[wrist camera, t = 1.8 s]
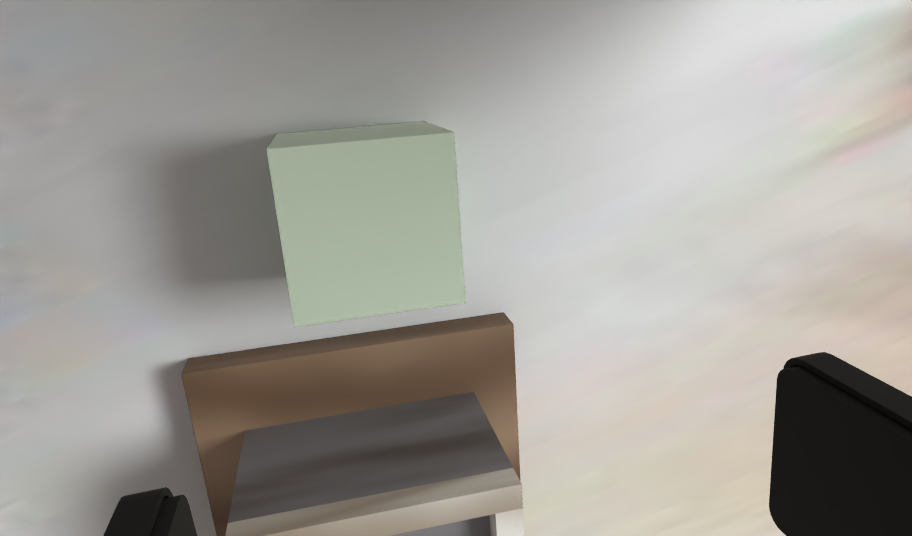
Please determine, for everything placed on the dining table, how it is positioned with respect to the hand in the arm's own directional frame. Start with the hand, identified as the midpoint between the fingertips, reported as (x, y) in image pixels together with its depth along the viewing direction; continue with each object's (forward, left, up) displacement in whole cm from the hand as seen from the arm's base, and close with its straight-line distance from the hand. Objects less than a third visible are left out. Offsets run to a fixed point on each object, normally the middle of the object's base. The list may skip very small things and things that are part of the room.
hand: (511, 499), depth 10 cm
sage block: (-1, -1, -19) cm, 19 cm away
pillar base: (+13, -2, -19) cm, 23 cm away
